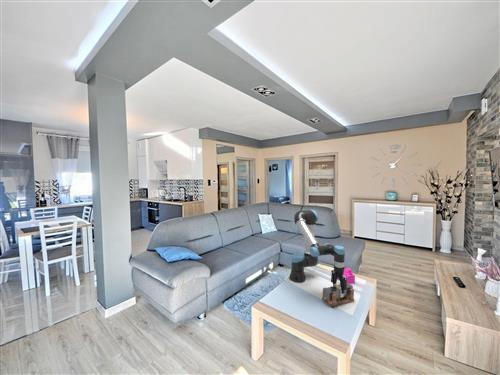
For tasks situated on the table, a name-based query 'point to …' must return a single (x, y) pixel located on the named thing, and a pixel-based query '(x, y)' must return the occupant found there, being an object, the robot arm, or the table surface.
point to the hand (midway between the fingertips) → (338, 294)
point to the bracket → (349, 276)
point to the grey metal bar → (336, 291)
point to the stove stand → (339, 299)
